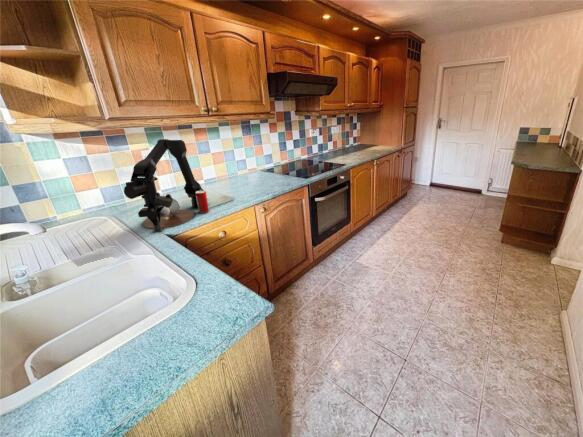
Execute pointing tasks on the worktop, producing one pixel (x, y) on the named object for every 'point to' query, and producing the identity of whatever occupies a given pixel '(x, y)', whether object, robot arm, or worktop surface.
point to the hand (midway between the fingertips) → (157, 224)
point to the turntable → (170, 221)
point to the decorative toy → (170, 210)
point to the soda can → (202, 201)
